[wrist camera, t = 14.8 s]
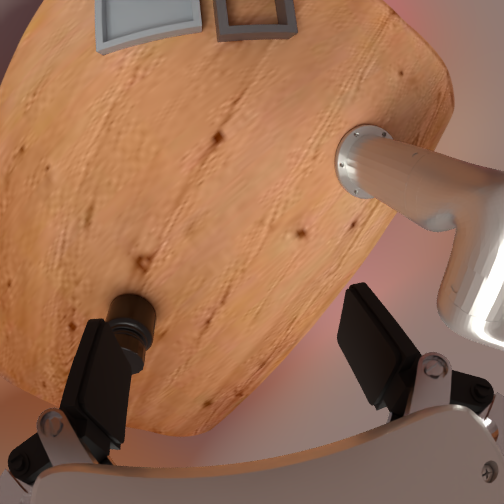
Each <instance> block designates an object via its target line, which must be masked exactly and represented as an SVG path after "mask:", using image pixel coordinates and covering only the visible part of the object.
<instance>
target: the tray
mask: <svg viewBox="0 0 504 504" xmlns="http://www.w3.org/2000/svg"><path fill="white" fill-rule="evenodd" d="M199 32H202V21H201V12H200V2H199V0H95V36H96V52H98V53H100V54H102V55H106V54H109V53H112V52H115V51H118V50H121V49H125V48H128V47H132V46H135V45H139V44H143V43H147V42H151V41H155V40H160V39H164V38H169V37H174V36H180V35H186V34H192V33H199Z"/></svg>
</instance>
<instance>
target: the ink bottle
mask: <svg viewBox="0 0 504 504" xmlns="http://www.w3.org/2000/svg"><path fill="white" fill-rule="evenodd" d="M155 320H156V315H155V311H154V309H153V307H152V306H151V305H150V304H149V303H148V302H147V301H146V300H145V299H143V298H141V297H139V296H136V295H123V296H120V297H118V298H116V299H115V300H114V301H113V302H112V303H111V305H110V308H109V311H108V314H107V317H106V320H105V322H108V323H109V325H110V327H111V329H112V331H113V333H114V335H115V337H116V339H117V341H118V343H119V345H120V347H121V349H122V351H123V352H124V354H125V356H126V358H127V360H128V362H129V363H130V365H131V369H132V374H136V373H139V372H140V371H141V370H143V366H144V362H145V353H146V350H148V349H149V348H150V347H151V345H152V343H153V337H154V329H155Z"/></svg>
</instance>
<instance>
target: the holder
mask: <svg viewBox="0 0 504 504" xmlns="http://www.w3.org/2000/svg"><path fill="white" fill-rule="evenodd" d="M275 4H276V11H277V18H278V25H238V26H229V24H228V16H227V8H226V0H213V6H214V15H215V24H216V32H217V41H218V42H226V41H238V40H257V39H290V38H291V37H292V36H294V35H295V34H297V33H298V30H297V23H296V16H295V10H294V4H293V0H275Z"/></svg>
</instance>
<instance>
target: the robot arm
mask: <svg viewBox="0 0 504 504" xmlns="http://www.w3.org/2000/svg"><path fill="white" fill-rule="evenodd" d="M354 133H355V135H354ZM340 163H341V164H340ZM335 170H336V175H337V178H338V180H339V182H340V184H341V185H342V187H343V188H344V189H345V190H346V191H347V192H349V193H350V194H351V195H353V196H355V197H358V198H361V199H371V198H376V199H378V200H380V201H381V202H383V203H385V204H386V205H388V206H389V207H391V208H393V209H394V210H396V211H397V212H399V213H401V214H402V215H404V216H405V217H407V218H408V219H410V220H411V221H413V222H414V223H416V224H418V225H419V226H421V227H422V228H424V229H426V230H429V231H433V232H442V231H447V230H451V229H454V228H456V234H455V238H454V242H453V248H452V251H451V255H450V258H449V261H448V264H447V267H446V270H445V273H444V276H443V279H442V282H441V285H440V288H439V291H438V295H437V310H438V314H439V316H440V318H441V319H442V321H443V322H444V323H445V324H446V326H448V327H449V328H450V329H451V330H453V331H454V332H456V333H457V334H459V335H461V336H463V337H465V338H467V339H469V340H472V341H475V342H478V343H481V344H484V345H487V346H490V347H493V348H496V349H499V350H502V351H504V171H501V170H496V169H492V168H487V167H483V166H479V165H475V164H471V163H468V162H465V161H461V160H458V159H455V158H452V157H449V156H446V155H443V154H440V153H437V152H434V151H431V150H428V149H425V148H421V147H418V146H415V145H411V144H408V143H404V142H401V141H397V140H394V139H393V138H392V136H391V135H390V134H389V133H388V132H387V131H385V130H384V129H382V128H380V127H378V126H374V125H361V126H358V127H355V128H353V129H352V130H350V131H349V132H348V133H347V134H346V135H345V136H344V137H343V138H342V140H341V142H340V144H339V146H338V148H337V151H336V156H335ZM337 340H338V344H339V346H340V348H341V350H342V352H343V353H344V355H345V357H346V359H347V361H348V363H349V365H350V366H351V368H352V370H353V372H354V374H355V376H356V378H357V380H358V382H359V384H360V386H361V388H362V390H363V392H364V394H365V395H366V398H367V400H368V402H369V403H370V404H371V405H374V406H375V408H376V410H379V409H382V408H384V407H387V408H388V410H389V411H390V413H389V417H388V420H387V423H386V424H384V425H382V426H379V427H377V428H374V429H371V430H369V431H366V432H363V433H360V434H358V435H355V436H352V437H350V438H346V439H343V440H340V441H337V442H334V443H331V444H327V445H323V446H320V447H316V448H313V449H309V450H305V451H301V452H297V453H292V454H288V455H284V456H279V457H274V458H268V459H263V460H257V461H250V462H244V463H236V464H228V465H217V466H205V467H186V468H150V467H128V466H117V465H116V464H115V463H114V462H113V460H112V459H111V457H110V456H109V452H110V449H116V450H120V445H121V444H122V443H123V442H124V437H125V426H126V416H127V407H128V398H129V390H130V383H131V376H132V369H131V365H130V363H129V362H128V360H127V358H126V356H125V354H124V352H123V351H122V349H121V347H120V345H119V343H118V341H117V339H116V337H115V335H114V333H113V331H112V329H111V327H110V325H109V323H108V322H105V321H104V319H90V320H89V321H88V322H87V325H86V328H85V330H84V333H83V336H82V338H81V341H80V344H79V347H78V350H77V353H76V355H75V357H74V360H73V363H72V366H71V369H70V373H69V376H68V379H67V382H66V386H65V389H64V393H63V397H62V400H61V404H60V408H59V409H57V408H49V409H47V410H45V411H44V412H42V413H41V415H40V416H39V418H38V420H37V433H36V434H34V435H33V436H31V437H30V438H29V439H27V440H26V441H25V442H23V443H22V444H21V445H19V446H18V447H16V448H15V449H14V450H13V451H12V452H11V453H10V455H9V458H8V467H9V470H7V469H5V470H4V472H3V473H2V475H1V476H0V504H504V396H503V395H501V394H499V393H498V392H497V393H496V394H494V391H493V388H492V386H491V384H490V383H489V382H488V381H487V380H485V379H483V378H480V377H476V376H472V375H469V374H465V373H461V372H458V371H454V370H452V368H451V365H450V362H449V361H448V359H447V358H446V357H445V356H443V355H442V354H439V353H437V352H429V353H426V354H424V355H421V354H420V352H419V351H418V349H417V348H416V347H415V345H414V344H413V343H412V341H411V340H410V339H409V337H408V336H407V335H406V333H405V332H404V331H403V329H402V328H401V327H400V326H399V324H398V323H397V322H396V320H395V319H394V318H393V316H392V315H391V314H390V313H389V312H388V310H387V309H386V308H385V306H384V305H383V304H382V303H381V302H380V300H379V299H378V298H377V296H376V295H375V294H374V293H373V292H372V290H371V289H370V288H369V287H368V286H367V284H366V283H364V282H362V283H358V284H353V285H350V287H349V289H347V290H346V293H345V299H344V304H343V310H342V314H341V319H340V324H339V329H338V334H337Z"/></svg>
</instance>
